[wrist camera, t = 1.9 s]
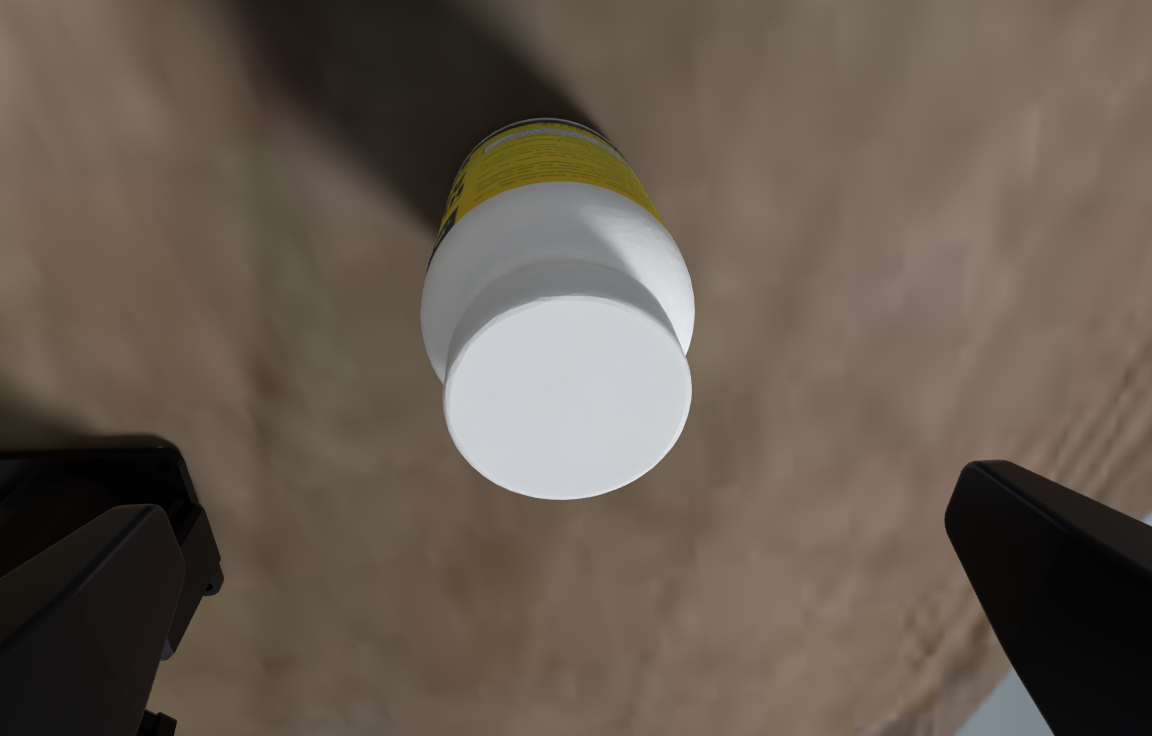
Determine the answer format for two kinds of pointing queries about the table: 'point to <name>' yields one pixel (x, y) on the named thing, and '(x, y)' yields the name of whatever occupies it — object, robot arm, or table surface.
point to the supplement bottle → (557, 314)
